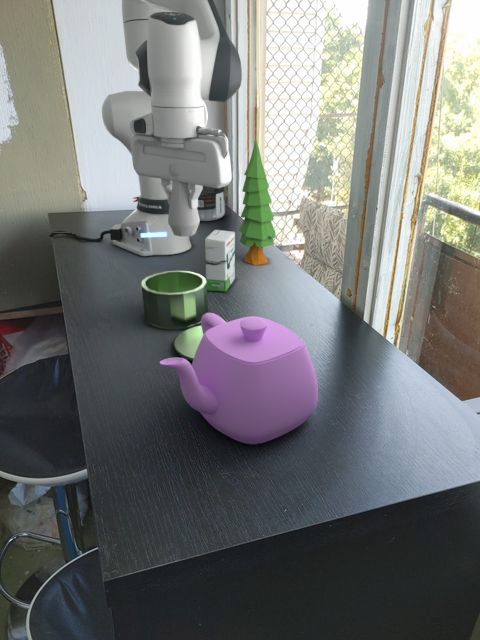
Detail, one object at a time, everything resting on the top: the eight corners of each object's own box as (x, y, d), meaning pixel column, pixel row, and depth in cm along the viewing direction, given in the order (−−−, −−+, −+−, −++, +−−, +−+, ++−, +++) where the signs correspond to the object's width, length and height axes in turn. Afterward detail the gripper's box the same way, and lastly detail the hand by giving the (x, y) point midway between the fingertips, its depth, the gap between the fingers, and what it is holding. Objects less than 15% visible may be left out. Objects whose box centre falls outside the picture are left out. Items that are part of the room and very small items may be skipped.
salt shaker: (205, 231, 100) (202, 159, 93) (191, 239, 95) (188, 165, 89) (177, 227, 101) (173, 157, 95) (163, 235, 97) (157, 162, 90)
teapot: (246, 362, 91) (246, 281, 83) (333, 420, 76) (343, 328, 69) (125, 409, 78) (112, 318, 71) (203, 489, 64) (198, 385, 56)
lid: (158, 351, 93) (156, 325, 91) (206, 323, 104) (205, 299, 101) (220, 374, 87) (219, 347, 84) (265, 342, 97) (265, 317, 95)
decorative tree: (250, 253, 142) (251, 134, 127) (282, 258, 138) (287, 137, 124) (233, 264, 134) (232, 139, 120) (267, 270, 131) (270, 142, 116)
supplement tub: (234, 216, 175) (234, 133, 162) (198, 225, 165) (195, 137, 152) (203, 208, 184) (200, 128, 172) (167, 215, 174) (162, 132, 161)
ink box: (226, 292, 118) (225, 241, 112) (205, 290, 118) (203, 239, 113) (235, 279, 125) (235, 230, 119) (215, 277, 126) (214, 228, 120)
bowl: (131, 319, 105) (127, 284, 101) (173, 299, 114) (171, 266, 110) (179, 336, 99) (177, 299, 95) (219, 313, 108) (219, 279, 104)
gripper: (238, 127, 87) (238, 211, 93) (147, 118, 96) (154, 195, 103) (215, 131, 82) (217, 219, 89) (122, 121, 91) (130, 201, 98)
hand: (182, 206), depth 96 cm, fingers closed on salt shaker, 3 cm apart
